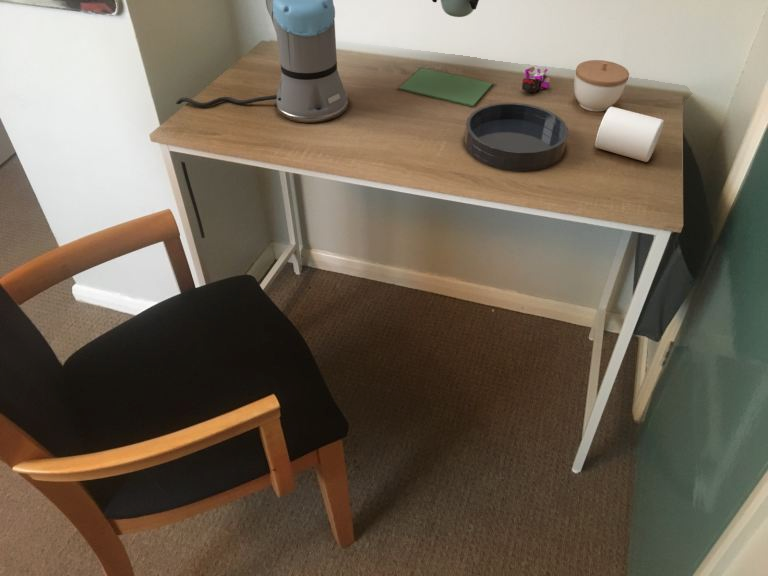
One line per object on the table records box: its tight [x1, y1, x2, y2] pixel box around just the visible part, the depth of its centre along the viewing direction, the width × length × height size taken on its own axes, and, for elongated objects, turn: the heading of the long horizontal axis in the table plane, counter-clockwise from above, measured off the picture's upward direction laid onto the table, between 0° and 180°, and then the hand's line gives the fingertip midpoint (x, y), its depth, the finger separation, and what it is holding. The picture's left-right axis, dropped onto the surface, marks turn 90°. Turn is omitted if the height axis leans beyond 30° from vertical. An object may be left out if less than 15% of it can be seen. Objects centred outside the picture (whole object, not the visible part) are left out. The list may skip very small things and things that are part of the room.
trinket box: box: [573, 59, 630, 113], centre depth 129 cm, size 11×11×9 cm
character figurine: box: [521, 66, 551, 93], centre depth 137 cm, size 6×5×12 cm
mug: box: [594, 106, 665, 163], centre depth 117 cm, size 12×10×8 cm
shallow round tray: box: [464, 102, 569, 172], centre depth 119 cm, size 19×19×4 cm
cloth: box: [398, 67, 494, 107], centre depth 138 cm, size 18×12×1 cm, turn 62°
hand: (452, 2), depth 121 cm, fingers closed on cup, 8 cm apart
